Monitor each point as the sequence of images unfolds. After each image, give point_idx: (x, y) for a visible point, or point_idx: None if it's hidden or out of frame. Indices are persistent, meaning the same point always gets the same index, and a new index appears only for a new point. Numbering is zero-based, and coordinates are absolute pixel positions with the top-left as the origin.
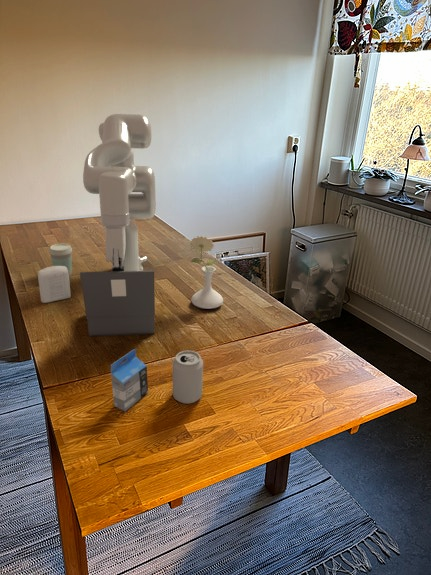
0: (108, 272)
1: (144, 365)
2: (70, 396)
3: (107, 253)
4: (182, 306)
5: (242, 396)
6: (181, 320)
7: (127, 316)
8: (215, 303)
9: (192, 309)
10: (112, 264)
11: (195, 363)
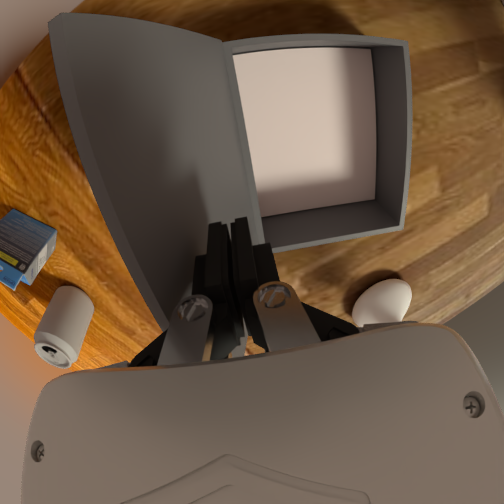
0: (130, 271)
1: (27, 283)
2: (7, 126)
3: (25, 471)
4: (380, 259)
5: (108, 349)
6: (319, 265)
7: (247, 178)
8: (357, 324)
9: (364, 278)
10: (164, 344)
11: (47, 362)
